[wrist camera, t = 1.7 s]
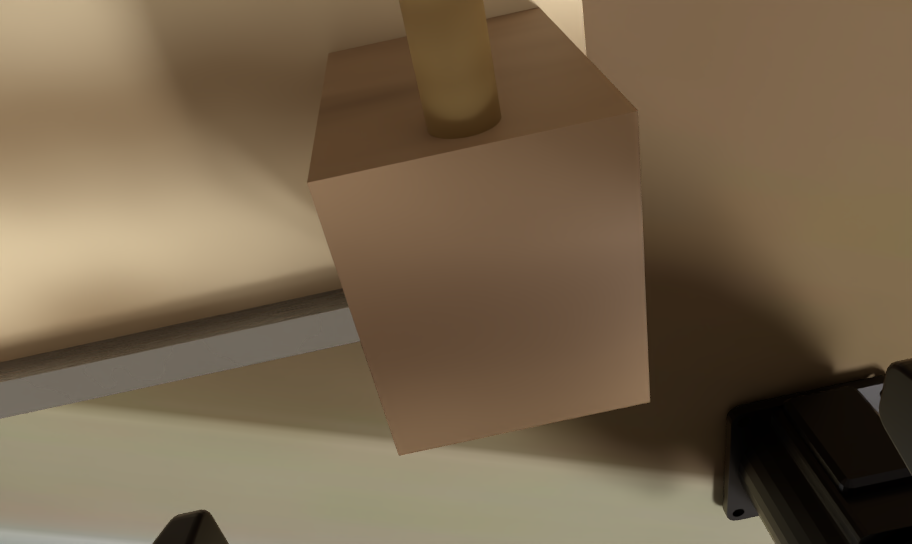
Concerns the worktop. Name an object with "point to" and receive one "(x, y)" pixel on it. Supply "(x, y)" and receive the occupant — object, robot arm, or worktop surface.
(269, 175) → the maple board
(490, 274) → the marking gauge
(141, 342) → the guide rail
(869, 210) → the worktop surface
